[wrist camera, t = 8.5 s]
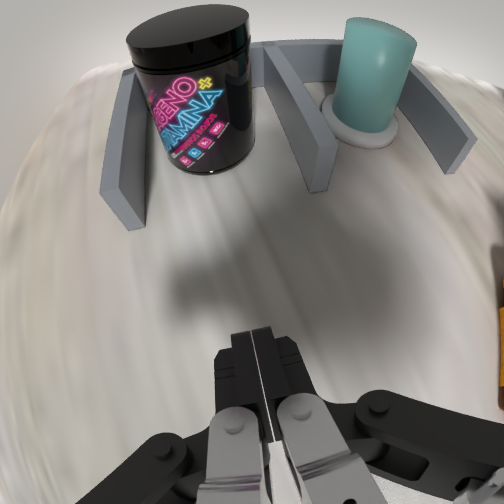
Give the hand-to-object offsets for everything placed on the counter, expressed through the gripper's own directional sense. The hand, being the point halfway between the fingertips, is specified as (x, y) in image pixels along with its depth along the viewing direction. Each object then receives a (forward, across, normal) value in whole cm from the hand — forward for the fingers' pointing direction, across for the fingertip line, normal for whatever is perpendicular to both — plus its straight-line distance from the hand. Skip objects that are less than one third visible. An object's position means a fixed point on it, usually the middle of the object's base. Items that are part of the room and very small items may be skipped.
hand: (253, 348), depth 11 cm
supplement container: (+14, 0, -7) cm, 16 cm away
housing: (+15, -6, -8) cm, 18 cm away
